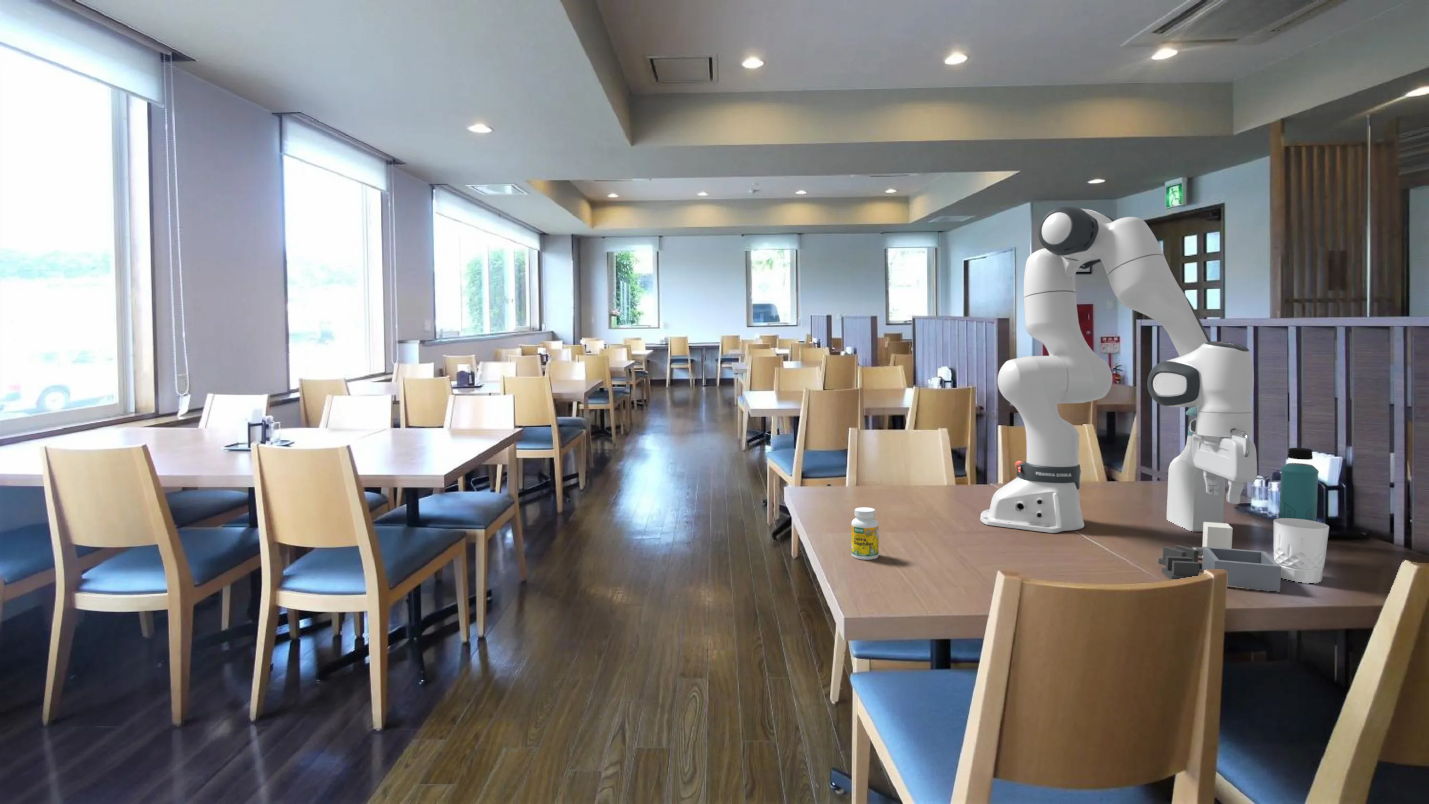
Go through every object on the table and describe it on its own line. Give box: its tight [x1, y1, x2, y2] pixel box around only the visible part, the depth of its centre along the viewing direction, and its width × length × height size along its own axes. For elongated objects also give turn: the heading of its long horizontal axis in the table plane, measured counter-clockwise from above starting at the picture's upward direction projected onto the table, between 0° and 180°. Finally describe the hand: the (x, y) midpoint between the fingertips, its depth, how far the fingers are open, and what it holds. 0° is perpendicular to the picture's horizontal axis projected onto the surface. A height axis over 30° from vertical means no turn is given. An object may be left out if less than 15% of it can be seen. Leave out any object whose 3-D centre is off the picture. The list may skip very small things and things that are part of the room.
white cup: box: [1272, 518, 1330, 584], centre depth 137 cm, size 8×8×10 cm
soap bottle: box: [1166, 406, 1226, 533], centre depth 173 cm, size 11×8×27 cm
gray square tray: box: [1201, 547, 1281, 593], centre depth 136 cm, size 10×10×4 cm
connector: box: [1191, 522, 1234, 558], centre depth 148 cm, size 6×4×7 cm, turn 68°
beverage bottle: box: [1277, 447, 1319, 522], centre depth 159 cm, size 6×7×20 cm
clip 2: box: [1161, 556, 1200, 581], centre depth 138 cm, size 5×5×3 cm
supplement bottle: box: [850, 506, 880, 561], centre depth 153 cm, size 5×5×10 cm
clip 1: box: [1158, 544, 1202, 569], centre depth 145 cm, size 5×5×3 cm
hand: (1222, 498), depth 147 cm, fingers open, 8 cm apart
